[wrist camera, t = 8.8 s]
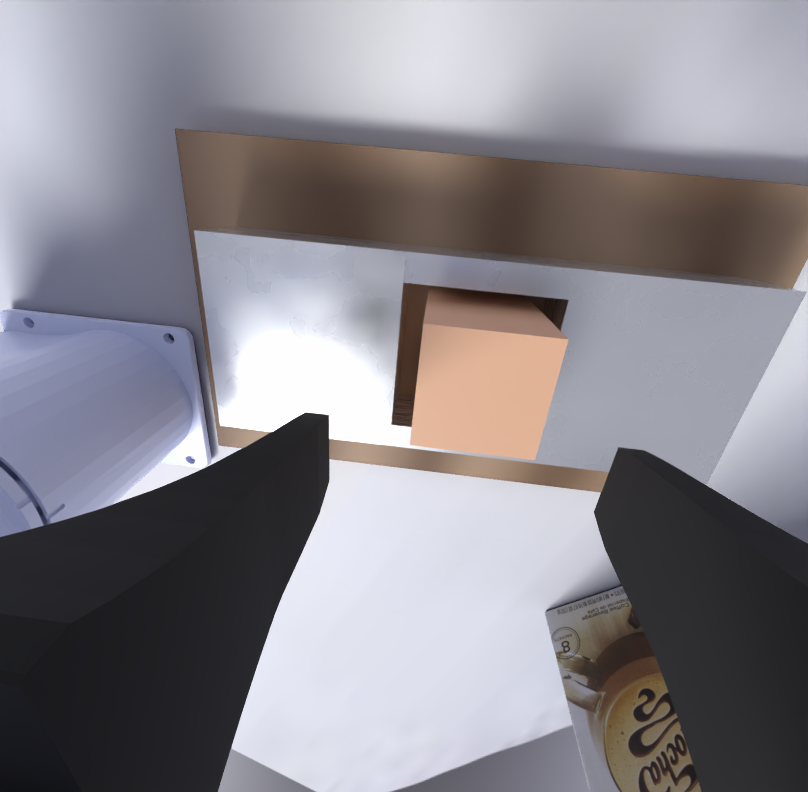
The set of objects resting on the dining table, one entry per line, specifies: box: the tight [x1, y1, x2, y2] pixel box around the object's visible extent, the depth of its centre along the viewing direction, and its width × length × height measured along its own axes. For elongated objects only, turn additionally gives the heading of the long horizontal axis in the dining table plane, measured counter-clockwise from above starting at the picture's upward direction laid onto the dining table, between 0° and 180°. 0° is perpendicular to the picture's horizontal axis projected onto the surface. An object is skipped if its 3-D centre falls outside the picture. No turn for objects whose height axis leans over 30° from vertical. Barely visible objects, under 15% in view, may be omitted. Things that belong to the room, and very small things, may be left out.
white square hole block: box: [194, 227, 806, 484], centre depth 16 cm, size 20×8×3 cm, turn 85°
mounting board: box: [175, 129, 808, 492], centre depth 18 cm, size 24×14×1 cm, turn 85°
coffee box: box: [545, 586, 701, 792], centre depth 18 cm, size 9×6×16 cm
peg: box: [410, 286, 569, 460], centre depth 14 cm, size 4×4×6 cm
